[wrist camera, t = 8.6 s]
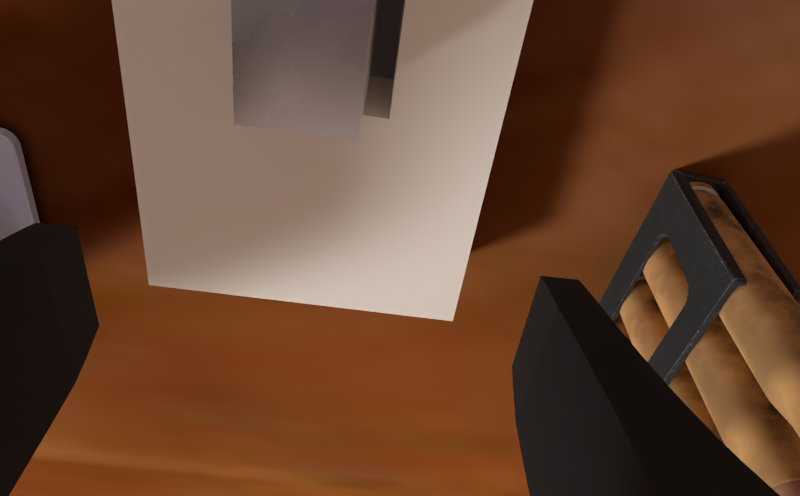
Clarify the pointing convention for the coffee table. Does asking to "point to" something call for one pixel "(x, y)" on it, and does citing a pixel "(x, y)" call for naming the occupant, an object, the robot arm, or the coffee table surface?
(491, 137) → the white rectangular slab
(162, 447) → the coffee table surface
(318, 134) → the rectangular block
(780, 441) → the ammunition clip
